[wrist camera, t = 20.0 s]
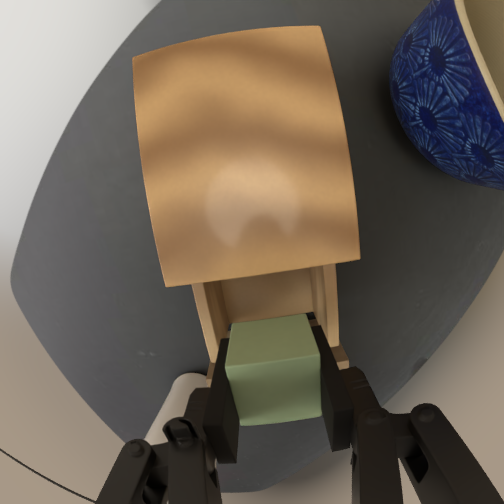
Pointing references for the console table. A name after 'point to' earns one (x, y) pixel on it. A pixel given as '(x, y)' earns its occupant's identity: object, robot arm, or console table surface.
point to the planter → (454, 88)
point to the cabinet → (245, 155)
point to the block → (274, 370)
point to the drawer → (270, 305)
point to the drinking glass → (174, 405)
